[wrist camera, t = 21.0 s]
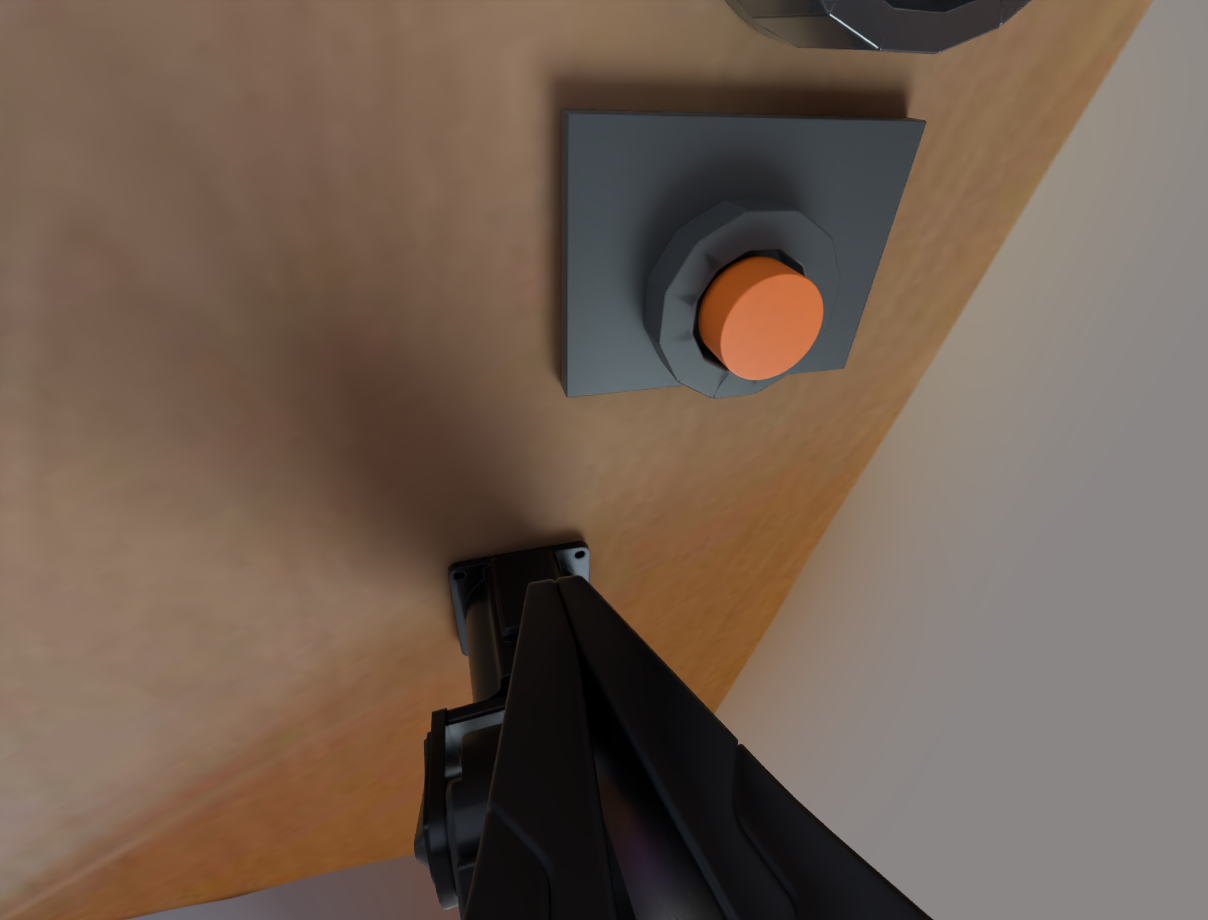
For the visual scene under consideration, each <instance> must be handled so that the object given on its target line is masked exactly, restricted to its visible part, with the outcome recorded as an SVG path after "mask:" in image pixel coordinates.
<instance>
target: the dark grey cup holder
mask: <svg viewBox="0 0 1208 920" xmlns="http://www.w3.org/2000/svg"><path fill="white" fill-rule="evenodd" d="M1030 1H1031V0H726V2H727V3H728V4H729V5H730V6H731V8H732V9H733V10H734V11H735V12H736V13H737V15H738V16H739V17H741V18H742V19H743V20H744V21H745V22H746V23H747V24H749V25H750V26H751V27H752V28H753V29H755V30H756V31H758V32H760V33H761V34H763V35H765V36H766V37H768V38H770V39H772V40H775V41H777V42H780V43H783V44H786V45H788V46H795V47H798V48H810V49H831V50H849V51H872V52H896V53H920V54H936V53H940V52H943V51H945V50H948V49H950V48H952V47H955V46H957V45H960V44H962V43H964V42H967V41H969V40H971V39H974V38H976V37H979V36H981V35H983V34H986V33H988V32H991V31H993V30H995V29H997V28H999V26H1001V25H1003V24H1004V23H1005V22H1006V21H1007V20H1009V19H1010V18H1011V17H1012V16H1013V15H1014V14H1016V13H1017V12H1018V11H1019V10H1020V9H1022V8H1023V7H1024V6H1025V5H1026V4H1027V3H1029V2H1030Z"/></svg>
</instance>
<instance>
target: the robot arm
mask: <svg viewBox="0 0 1208 920" xmlns="http://www.w3.org/2000/svg"><path fill="white" fill-rule="evenodd" d="M578 551H581V552H578ZM577 552H578V553H577ZM589 568H590V550H589V548H588V545H587V544H586V543H585V542H583V541H577V542H571V543H565V544H559V545H553V546H547V547H542V548H536V549H530V550H524V551H518V552H512V553H506V554H501V555H495V556H489V557H483V558H477V559H471V560H465V561H459V562H456V563H453V564H452V565H450V567H449V568H448V578H449V584H450V589H451V595H452V601H453V606H454V612H455V617H456V623H457V628H458V634H459V639H460V645H461V650H462V653H463V654H464V655H465V656H468V657H469V667H470V676H471V686H472V695H473V703H472V704H468V705H465V706H461V707H457V708H453V709H450V710H447V708H444V709H440V710H437V711H433V712H432V722H431V732H428V733H427V739H425V740H424V761H425V781H424V791H423V797H422V802H421V807H420V813H419V818H418V824H417V829H416V834H415V840H414V851H415V857H416V860H417V861H419V862H420V863H421V864H422V865H424V866H425V867H426V868H428V869H429V870H430V873H431V877H432V880H433V883H434V885H435V887H436V892H437V895H438V898H439V902H440V904H441V907H442V909H444V910H448V909H451V908H454V907H457V906H459V912H460V918H461V920H933V919H932V918H931V917H930V916H928V915H927V914H926V913H925V912H924V911H923V910H921V909H920V908H919V907H918V906H917V905H915V903H913V902H912V901H911V900H910V899H909V898H908V897H906V896H905V895H904V894H903V893H902V892H901V891H900V890H898V889H897V888H896V887H895V886H894V885H893V884H892V883H890V882H889V881H888V880H887V879H886V878H885V877H883V876H882V875H881V874H880V873H879V872H878V871H877V870H876V869H874V868H873V867H872V866H871V865H870V864H869V863H867V862H866V861H865V860H864V859H863V858H862V857H861V856H859V855H858V854H857V853H856V852H855V851H854V850H853V849H851V848H850V847H849V846H848V845H847V844H846V843H845V842H843V841H842V840H841V839H840V838H839V837H838V836H837V835H835V834H834V833H833V832H832V831H831V830H830V829H829V828H827V827H826V826H825V825H824V824H823V823H822V822H821V821H820V820H819V819H818V818H816V817H815V816H814V815H813V814H812V813H811V812H810V811H809V810H808V809H807V808H805V807H804V806H803V805H802V804H801V803H800V802H799V801H798V800H797V799H796V798H795V797H793V795H792V794H791V793H790V792H789V791H788V790H787V789H785V788H784V786H782V784H780V782H779V781H778V780H776V779H775V777H774V776H773V775H772V774H770V772H769V771H768V770H766V769H765V767H764V766H762V764H761V763H760V762H759V761H758V760H757V759H756V758H755V757H754V756H753V755H752V754H751V753H750V752H749V751H748V749H746V747H745V746H744V745H742V744H739V745H738V740H737V738H736V737H735V736H734V735H733V734H732V733H731V732H730V731H729V730H728V729H727V728H726V727H725V726H724V724H723V723H722V722H721V721H720V720H719V719H718V718H717V717H716V716H715V715H714V714H713V713H712V712H711V711H710V710H709V709H708V708H707V707H706V706H705V704H704V703H703V702H702V701H701V700H700V699H699V698H698V697H697V696H696V695H695V694H694V693H693V692H692V691H691V690H690V689H689V688H688V687H687V686H686V684H685V683H684V682H683V681H682V680H681V679H680V678H679V677H678V676H677V675H676V674H675V673H674V672H673V671H672V670H671V669H670V668H669V667H668V666H667V664H666V663H665V662H664V661H663V660H662V659H661V658H660V657H659V656H658V655H657V654H656V653H655V652H654V651H653V650H652V649H651V648H650V647H649V646H648V644H647V643H646V642H645V641H644V640H643V639H642V638H641V637H640V636H639V635H638V634H637V633H636V632H635V631H634V630H633V629H632V628H631V627H630V625H629V624H628V623H627V622H626V621H625V620H624V619H623V618H622V617H621V616H620V615H619V614H618V613H617V612H616V611H615V610H614V609H613V608H612V607H611V605H610V604H609V603H608V602H607V601H606V600H605V599H604V598H603V597H602V596H601V595H600V594H599V593H598V592H597V591H596V590H595V589H594V588H593V587H592V585H591V584H590V583H589ZM458 572H462V573H458Z"/></svg>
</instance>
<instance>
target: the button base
mask: <svg viewBox="0 0 1208 920" xmlns="http://www.w3.org/2000/svg"><path fill="white" fill-rule="evenodd" d="M925 125H926V121H925V120H920V119H914V118H905V117H864V116H823V115H782V114H741V113H700V112H659V111H618V110H577V109H562V110H561V386H562V388H563V390H564V393H565V395H566V397H577V396H587V395H596V394H606V393H615V392H625V391H634V390H644V389H653V388H663V387H672V386H682V385H685V386H687V387H689V388H691V389H693V390H695V391H697V392H699V393H702V394H704V395H706V396H708V397H710V398H723V397H732V396H740V395H749V394H754V393H757V392H759V391H761V390H762V389H764V388H766V387H767V386H769V385H771V384H772V383H774V382H776V381H778V380H779V379H781V378H783V377H784V376H786V375H788V374H796V373H805V372H815V371H825V370H834V369H843V368H844V367H845V364H846V361H847V358H848V355H849V352H850V349H851V346H852V343H853V340H854V337H855V334H856V331H857V328H858V325H859V322H860V319H861V316H862V313H863V310H864V307H865V304H866V301H867V298H868V295H869V292H870V289H871V286H872V283H873V280H874V277H875V274H876V271H877V269H878V266H879V263H880V260H881V257H882V254H883V251H884V248H885V245H886V242H887V239H888V236H889V233H890V230H891V227H892V224H893V221H894V218H895V215H896V212H897V209H898V206H899V203H900V200H901V197H902V194H903V191H904V188H905V185H906V182H907V179H908V176H909V173H910V170H911V167H912V164H913V161H914V158H915V155H916V152H917V149H918V146H919V143H920V140H921V137H922V134H923V131H924V128H925ZM754 256H767V257H771V258H774V259H777V260H778V261H780V262H782V263H783V264H785V265H787V266H788V267H790V268H792V269H793V270H795V271H797V272H798V273H800V274H801V275H803V276H805V277H806V278H808V279H810V280H811V281H812V282H813V283H814V284H815V285H816V287H817V288H818V290H819V292H820V294H821V297H822V301H823V320H822V324H821V328H820V330H819V333H818V335H817V337H816V340H815V341H814V343H813V345H812V346H811V348H810V349H809V350H808V352H807V353H806V354H805V355H804V356H803V357H802V358H801V359H800V360H799V361H798V362H797V363H796V364H795V365H794V366H792V367H791V368H789V369H788V370H786V371H785V372H783V373H781V374H779V375H777V376H774V377H771V378H768V379H762V380H749V379H744V378H741V377H739V376H737V375H735V374H734V373H732V372H731V371H730V370H729V369H728V368H727V367H726V366H725V365H724V364H723V363H722V362H721V361H720V360H719V359H718V358H717V357H716V356H715V355H714V353H713V352H712V351H711V350H710V349H709V348H708V347H707V346H706V345H705V343H704V342H703V340H702V338H701V335H700V331H699V324H698V318H699V310H700V306H701V303H702V300H703V298H704V295H705V293H706V291H707V290H708V288H709V286H710V285H711V284H712V282H713V281H714V280H715V279H716V278H717V276H718V275H719V274H720V273H722V272H723V271H724V270H725V269H726V268H728V267H729V266H731V265H732V264H734V263H736V262H738V261H740V260H743V259H745V258H749V257H754Z"/></svg>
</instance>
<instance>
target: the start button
mask: <svg viewBox="0 0 1208 920" xmlns="http://www.w3.org/2000/svg"><path fill="white" fill-rule="evenodd" d="M822 320H823V301H822V297H821V294H820V292H819V290H818V288H817V287H816V285H815V284H814V283H813V282H812V281H811V280H810V279H808V278H806V277H805V276H803V275H801V274H800V273H798V272H797V271H795V270H793V269H792V268H790V267H788V266H787V265H785V264H783V263H782V262H780V261H778V260H777V259H774V258H771V257H767V256H754V257H749V258H745V259H743V260H740V261H738V262H736V263H734V264H732V265H731V266H729V267H728V268H726V269H725V270H724V271H723V272H722V273H720V274H719V275H718V276H717V278H716V279H715V280H714V281H713V282H712V284H711V285H710V286H709V288H708V290H707V291H706V293H705V295H704V298H703V300H702V303H701V306H700V310H699V318H698V324H699V331H700V335H701V338H702V340H703V342H704V343H705V345H706V346H707V347H708V348H709V349H710V350H711V351H712V352H713V353H714V355H715V356H716V357H717V358H718V359H719V360H720V361H721V362H722V363H723V364H724V365H725V366H726V367H727V368H728V369H729V370H730V371H731V372H732V373H734V374H735V375H737V376H739V377H741V378H744V379H749V380H762V379H768V378H771V377H774V376H777V375H779V374H781V373H783V372H785V371H786V370H788V369H789V368H791V367H792V366H794V365H795V364H796V363H797V362H798V361H799V360H800V359H801V358H802V357H803V356H804V355H805V354H806V353H807V352H808V350H809V349H810V348H811V346H812V345H813V343H814V341H815V340H816V337H817V335H818V333H819V330H820V328H821V324H822Z"/></svg>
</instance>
